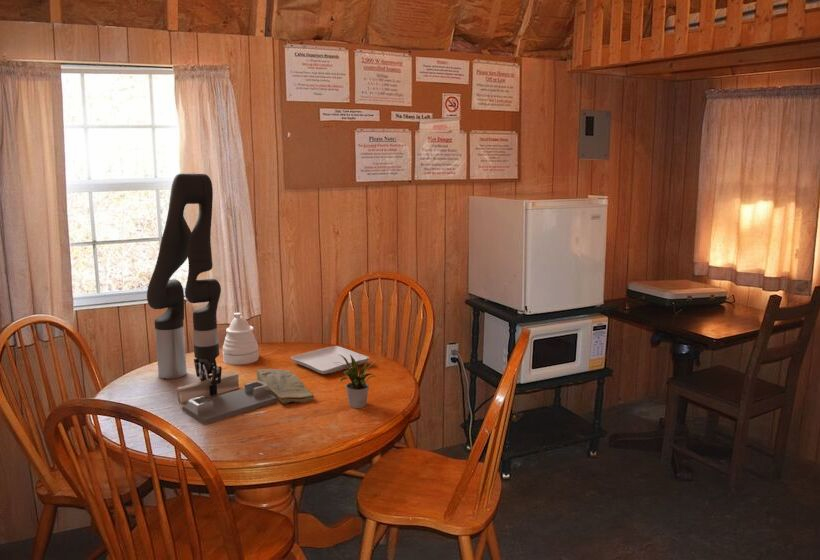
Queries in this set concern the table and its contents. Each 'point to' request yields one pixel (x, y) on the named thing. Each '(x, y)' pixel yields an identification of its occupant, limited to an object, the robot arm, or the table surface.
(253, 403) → the base board
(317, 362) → the salad plate
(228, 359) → the honey pot
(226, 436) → the table surface
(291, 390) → the stone slab
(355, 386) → the house plant
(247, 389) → the end caps
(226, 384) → the slat
